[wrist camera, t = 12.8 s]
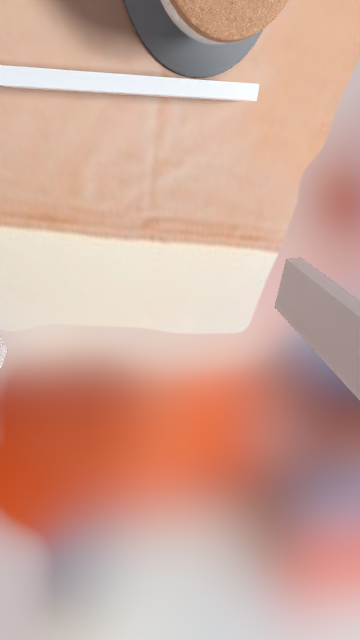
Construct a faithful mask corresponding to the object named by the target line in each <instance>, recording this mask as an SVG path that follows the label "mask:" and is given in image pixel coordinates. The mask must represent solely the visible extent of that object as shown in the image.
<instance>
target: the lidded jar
mask: <svg viewBox="0 0 360 640" xmlns="http://www.w3.org/2000/svg"><path fill="white" fill-rule="evenodd" d="M160 1H161V3H162V5H163V7H164V9H165V11H166V12H167V14H168V15H169V17H170V18H171V20H172V21H173V23H174V24H175V25H176V26H177V27H178V28H179V29H180V30H181V31H182V32H184V33H185V34H186V35H187V36H189V37H190V38H192V39H194V40H196V41H198V42H201V43H205V44H213V45H222V44H227V43H232V42H236V41H241V40H244V39H246V38H248V37H251V36H253V35H255V34H256V33H258V32H259V31H261V30H262V29H264V28H265V27H266V26H267V25H268V24H269V23H270V22H271V21H273V20H274V19H275V18H276V16H277V15H278V14H279V13H280V11H281V10H282V9H283V8H284V6H285V5H286V3H287V1H288V0H160Z"/></svg>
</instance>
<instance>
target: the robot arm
mask: <svg viewBox="0 0 360 640" xmlns="http://www.w3.org/2000/svg"><path fill="white" fill-rule="evenodd" d="M275 308H276V309H277V310H278V311H279V312H280V313H281V314H282V316H283V317H284V318H285V319H286V320H287V321H288V322H289V323H290V324H291V326H292V327H293V328H294V329H295V330H296V331H297V332H298V333H299V334H300V335H301V336H302V338H303V339H304V340H305V341H306V342H307V343H308V344H309V345H310V346H311V347H312V348H313V349H314V351H315V352H316V353H317V354H318V355H319V356H320V357H321V358H322V359H323V361H325V363H326V364H327V365H328V366H329V367H330V368H331V369H332V370H333V372H334V373H335V374H336V375H337V376H338V377H339V378H340V379H341V380H342V381H343V383H344V384H345V385H346V386H347V387H348V388H349V389H350V390H351V391H352V392H353V393H354V395H355V396H356V397H357V398H358V399H359V400H360V300H359V299H358V298H356V297H355V296H353V295H352V294H351V293H349V292H348V291H346V290H345V289H344V288H342V287H341V286H339V285H338V284H337V283H335V282H334V281H333V280H331V279H330V278H328V277H327V276H326V275H324V274H323V273H322V272H320V271H319V270H317V269H316V268H315V267H313V266H312V265H310V264H309V263H308V262H306V261H305V260H304V259H302V258H301V257H300V258H291V259H286V262H285V266H284V270H283V275H282V279H281V283H280V287H279V291H278V295H277V299H276V303H275ZM6 352H7V349H6V347H5V345H4V343H3V341H2V339H1V337H0V369H1V366H2V363H3V360H4V357H5V355H6Z"/></svg>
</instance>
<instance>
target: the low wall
mask: <svg viewBox="0 0 360 640" xmlns="http://www.w3.org/2000/svg"><path fill="white" fill-rule="evenodd" d="M0 86H5V87H10V88H22V89H38V90H55V91H72V92H89V93H106V94H123V95H140V96H157V97H174V98H191V99H208V100H225V101H257V95H258V89H259V84H251V83H237V82H224V81H210V80H196V79H183V78H169V77H155V76H142V75H128V74H114V73H101V72H87V71H73V70H60V69H46V68H32V67H19V66H5V65H0Z"/></svg>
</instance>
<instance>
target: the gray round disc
mask: <svg viewBox="0 0 360 640" xmlns="http://www.w3.org/2000/svg"><path fill="white" fill-rule="evenodd" d="M124 1H125V5H126V8H127V10H128V13H129V16H130V18H131V21H132V23H133V25H134V27H135V29H136V31H137V33H138V35H139V36H140V38H141V39H142V41H143V43H144V44H145V45H146V47H147V48H148V49H149V51H150V52H151V53H152V54H153V55H154V56H155V57H156V58H157V59H158V60H159V61H160V62H161V63H162V64H164V65H165V66H166V67H167V68H169V69H171V70H172V71H174V72H176V73H178V74H181V75H184V76H187V77H193V78H206V77H211V76H215V75H218V74H220V73H223V72H225V71H227V70H228V69H230V68H232V67H233V66H234V65H235V64H237V63H238V62H239V61H240V60H241V59H242V58H243V57H244V56H245V55H246V54H247V53H248V52H249V51H250V49H251V48H252V47H253V45H254V44H255V42H256V41H257V39H258V38H259V36H260V34H261V33H262V30H263V29H262V30H261V31H259V32H258V33H256V34H255V35H253V36H251V37H248V38H246V39H244V40H241V41H236V42H232V43H227V44H222V45H213V44H205V43H201V42H198V41H196V40H194V39H192V38H190V37H189V36H187V35H186V34H185V33H184V32H182V31H181V30H180V29H179V28H178V27H177V26H176V25H175V24H174V23H173V21H172V20H171V18H170V17H169V15H168V14H167V12H166V11H165V9H164V7H163V5H162V3H161V1H160V0H124Z"/></svg>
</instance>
